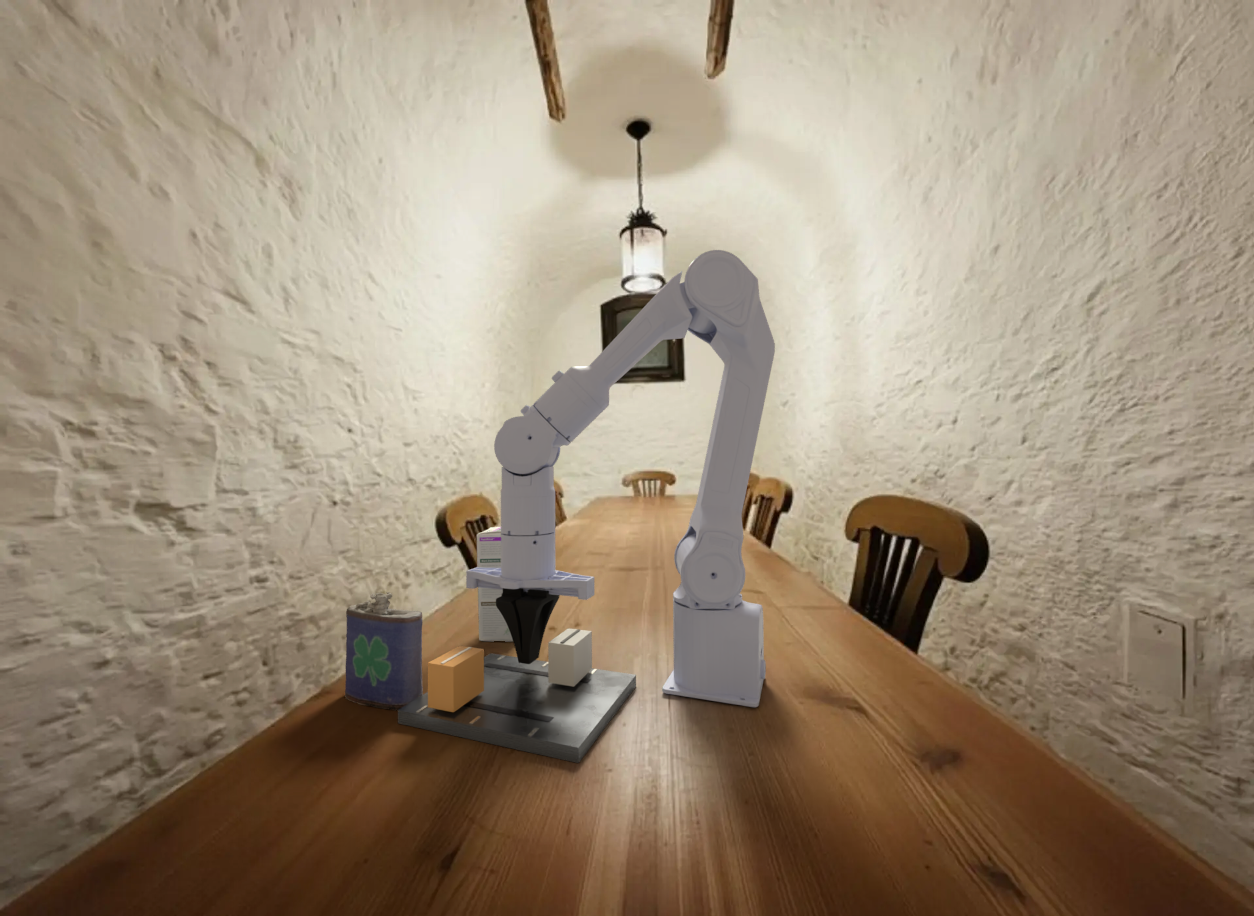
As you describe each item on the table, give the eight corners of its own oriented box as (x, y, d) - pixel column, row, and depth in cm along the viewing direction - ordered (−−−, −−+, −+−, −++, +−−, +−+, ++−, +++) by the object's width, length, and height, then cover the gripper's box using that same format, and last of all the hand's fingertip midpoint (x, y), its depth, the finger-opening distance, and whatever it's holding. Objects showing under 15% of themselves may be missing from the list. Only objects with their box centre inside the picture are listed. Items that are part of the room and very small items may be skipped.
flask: (428, 701, 49) (427, 593, 49) (405, 716, 46) (404, 600, 46) (360, 686, 52) (359, 585, 52) (335, 699, 50) (334, 592, 50)
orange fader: (483, 690, 48) (483, 648, 48) (453, 712, 44) (453, 665, 44) (459, 686, 49) (459, 644, 49) (427, 707, 45) (427, 661, 45)
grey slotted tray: (636, 686, 52) (635, 674, 52) (578, 763, 39) (578, 747, 39) (490, 663, 58) (490, 652, 58) (397, 723, 45) (397, 709, 45)
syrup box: (521, 642, 65) (520, 531, 65) (476, 642, 65) (476, 531, 65) (530, 627, 71) (530, 525, 71) (489, 627, 71) (489, 525, 71)
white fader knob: (591, 668, 53) (591, 630, 53) (573, 686, 49) (573, 644, 49) (568, 665, 54) (568, 627, 54) (548, 682, 50) (548, 641, 50)
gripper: (447, 534, 52) (447, 665, 51) (573, 541, 47) (573, 686, 47) (488, 525, 58) (488, 641, 58) (602, 531, 53) (602, 658, 53)
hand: (528, 660), depth 53 cm, fingers closed
